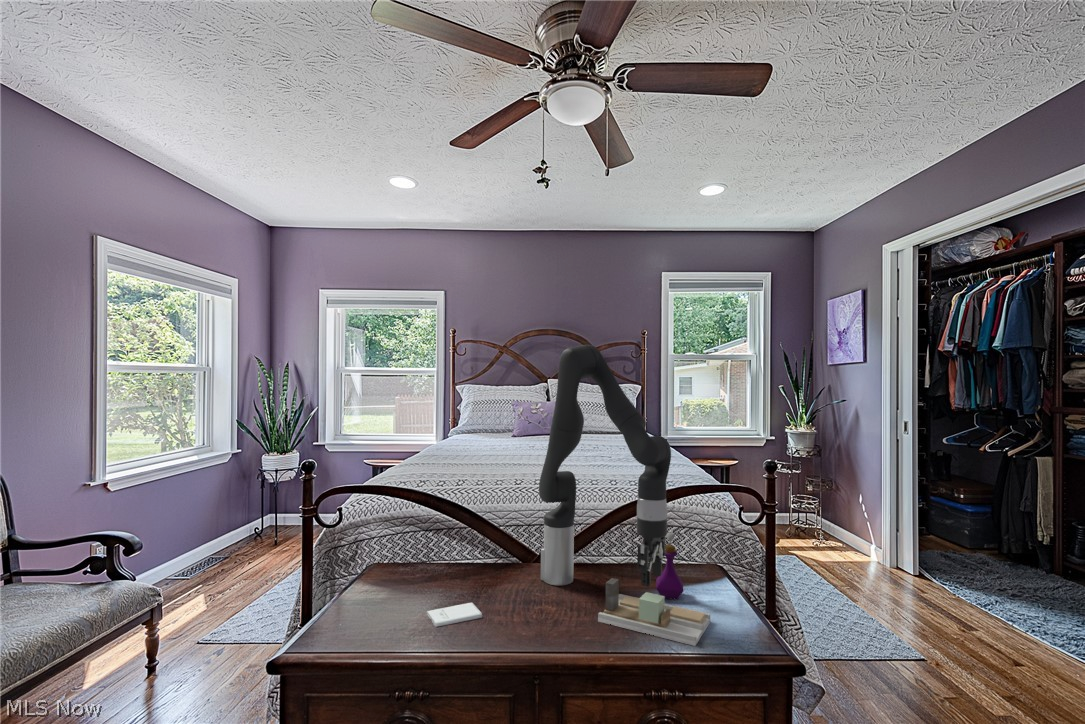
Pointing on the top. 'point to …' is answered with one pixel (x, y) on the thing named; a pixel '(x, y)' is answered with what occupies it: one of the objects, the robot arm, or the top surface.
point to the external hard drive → (454, 614)
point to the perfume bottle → (669, 574)
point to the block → (651, 607)
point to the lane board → (681, 627)
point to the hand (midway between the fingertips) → (651, 580)
